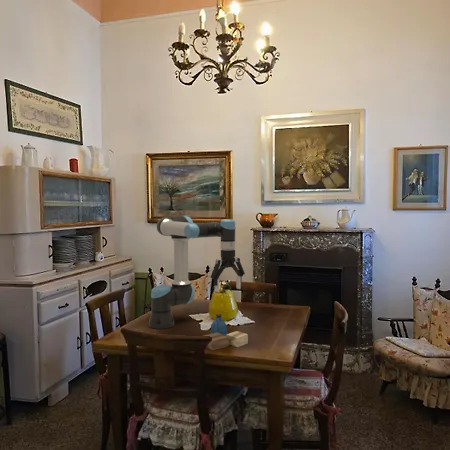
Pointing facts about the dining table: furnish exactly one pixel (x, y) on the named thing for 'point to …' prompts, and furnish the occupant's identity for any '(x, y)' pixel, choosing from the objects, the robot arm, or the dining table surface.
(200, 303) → the dining table surface
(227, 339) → the walnut block
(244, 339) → the beech block
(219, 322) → the blue carton
